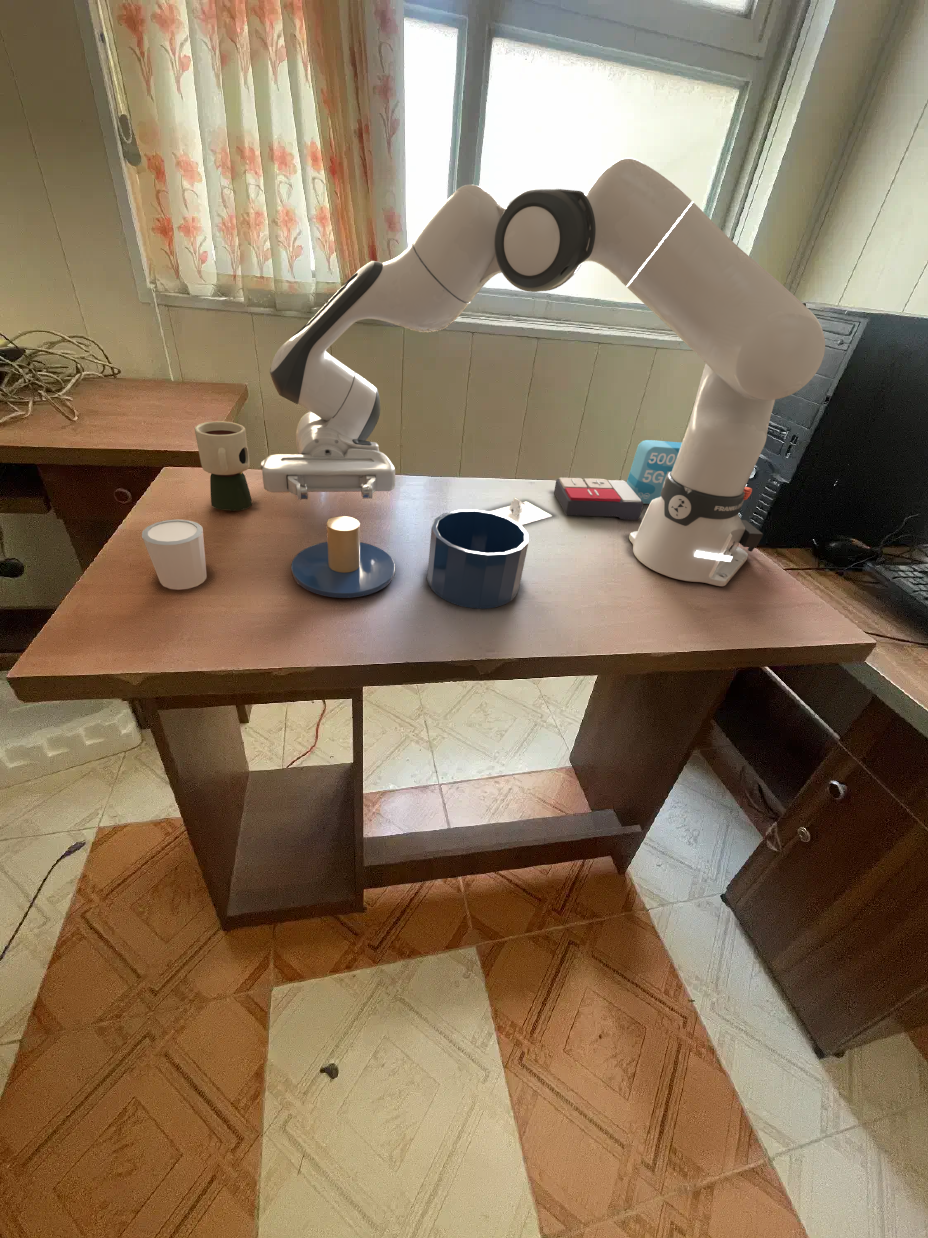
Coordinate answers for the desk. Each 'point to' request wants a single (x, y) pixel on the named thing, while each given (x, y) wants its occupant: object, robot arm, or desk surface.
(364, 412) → the robot arm
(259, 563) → the desk surface
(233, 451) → the character mug
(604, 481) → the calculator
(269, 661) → the desk surface
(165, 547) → the white tapered cup
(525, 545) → the pot
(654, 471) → the data package
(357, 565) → the lid
